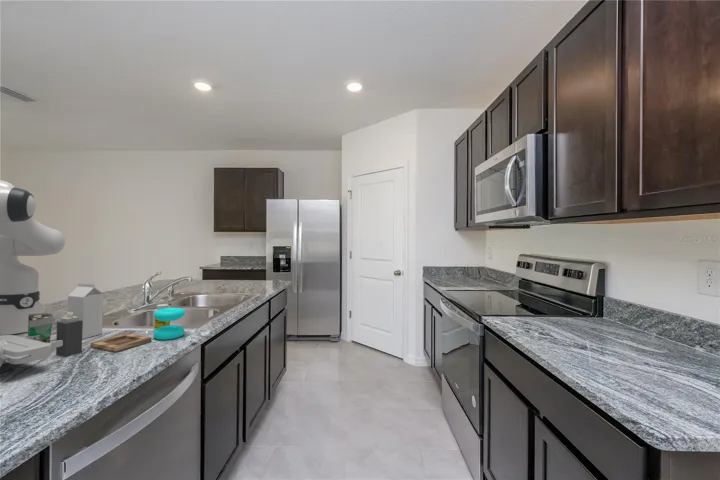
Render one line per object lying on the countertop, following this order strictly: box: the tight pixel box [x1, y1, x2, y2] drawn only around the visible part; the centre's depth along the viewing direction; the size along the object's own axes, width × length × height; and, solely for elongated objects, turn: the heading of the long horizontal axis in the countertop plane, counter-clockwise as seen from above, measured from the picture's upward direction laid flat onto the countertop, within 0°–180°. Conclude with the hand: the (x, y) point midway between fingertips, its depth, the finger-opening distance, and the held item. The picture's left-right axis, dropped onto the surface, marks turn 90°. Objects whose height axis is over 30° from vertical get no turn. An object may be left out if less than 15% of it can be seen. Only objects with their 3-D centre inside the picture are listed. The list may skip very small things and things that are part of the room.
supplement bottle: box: [153, 303, 171, 331], centre depth 130 cm, size 5×5×10 cm
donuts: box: [152, 307, 186, 341], centre depth 121 cm, size 10×10×10 cm
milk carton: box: [67, 282, 104, 340], centre depth 118 cm, size 7×7×19 cm
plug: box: [55, 311, 83, 357], centre depth 101 cm, size 4×4×13 cm
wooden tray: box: [90, 332, 152, 354], centre depth 110 cm, size 12×12×2 cm
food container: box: [27, 312, 56, 343], centre depth 107 cm, size 12×6×10 cm, turn 47°
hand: (51, 340), depth 97 cm, fingers open, 8 cm apart
